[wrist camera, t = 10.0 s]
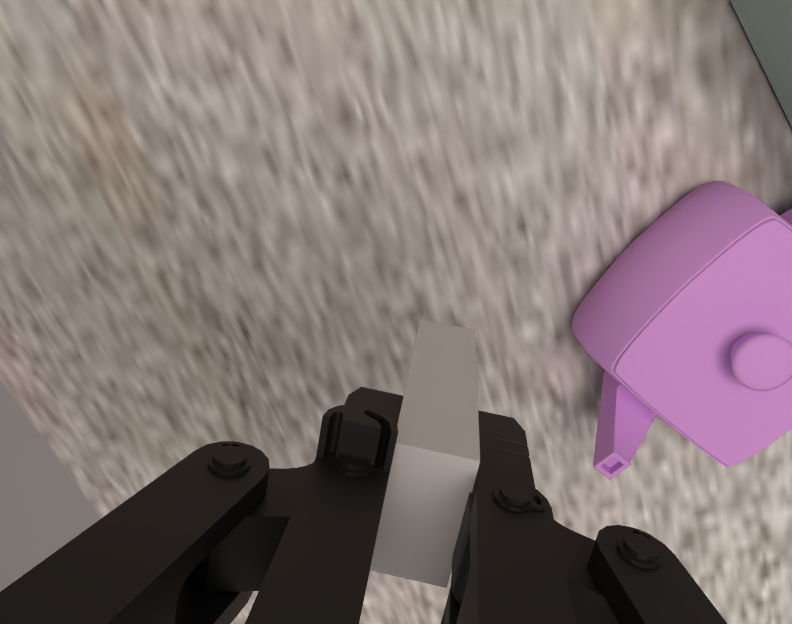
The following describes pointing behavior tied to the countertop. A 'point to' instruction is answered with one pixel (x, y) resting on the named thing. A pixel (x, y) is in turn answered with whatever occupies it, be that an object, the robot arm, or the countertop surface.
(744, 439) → the teapot
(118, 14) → the countertop surface
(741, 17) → the door
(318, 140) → the countertop surface
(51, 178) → the countertop surface
